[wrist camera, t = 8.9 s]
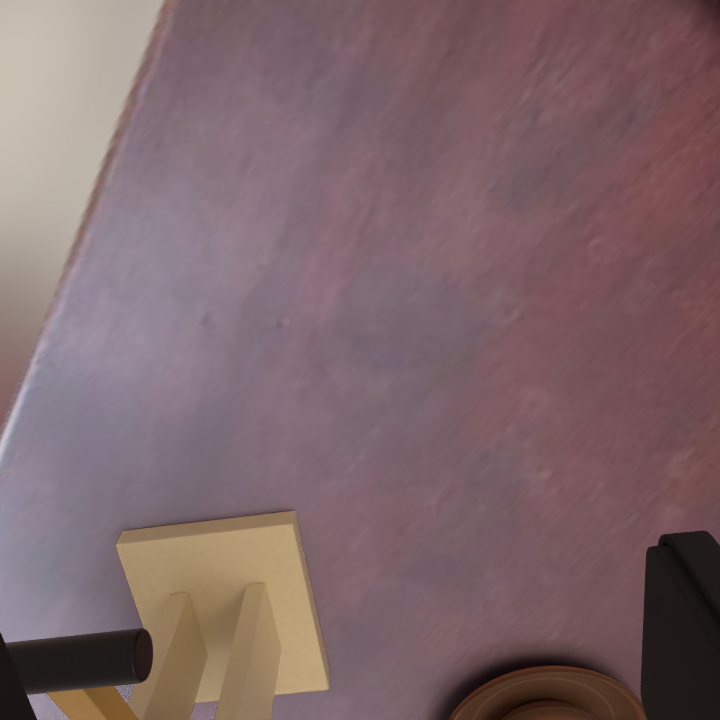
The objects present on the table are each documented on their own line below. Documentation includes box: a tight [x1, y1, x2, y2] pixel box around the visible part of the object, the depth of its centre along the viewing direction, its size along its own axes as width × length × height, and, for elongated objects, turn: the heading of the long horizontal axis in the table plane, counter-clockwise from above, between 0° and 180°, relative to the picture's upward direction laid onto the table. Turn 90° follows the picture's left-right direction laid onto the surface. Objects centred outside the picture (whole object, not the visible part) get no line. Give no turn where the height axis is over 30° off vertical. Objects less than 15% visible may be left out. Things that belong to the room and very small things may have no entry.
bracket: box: [116, 511, 330, 720], centre depth 30 cm, size 11×9×13 cm
